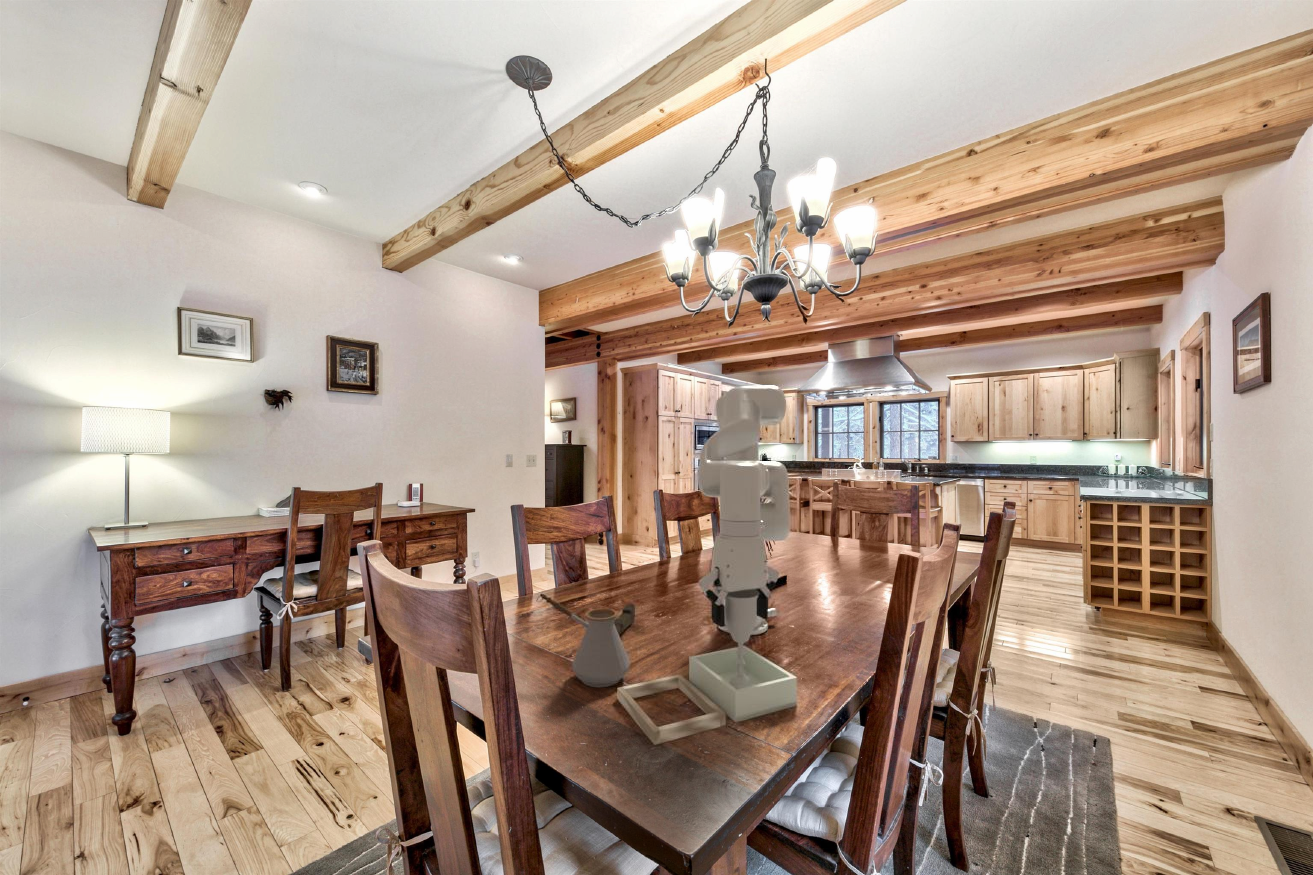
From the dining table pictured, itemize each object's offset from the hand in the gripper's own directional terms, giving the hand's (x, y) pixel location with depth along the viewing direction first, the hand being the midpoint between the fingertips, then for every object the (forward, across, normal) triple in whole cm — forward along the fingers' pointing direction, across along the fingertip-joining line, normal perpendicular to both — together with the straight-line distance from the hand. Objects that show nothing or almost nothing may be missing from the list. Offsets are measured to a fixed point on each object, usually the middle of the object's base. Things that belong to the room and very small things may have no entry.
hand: (740, 620), depth 96 cm
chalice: (+13, 0, 0) cm, 13 cm away
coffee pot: (+14, +24, -21) cm, 35 cm away
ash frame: (+14, +15, 0) cm, 20 cm away
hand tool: (+14, +9, -40) cm, 43 cm away
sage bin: (+14, 0, 0) cm, 14 cm away
